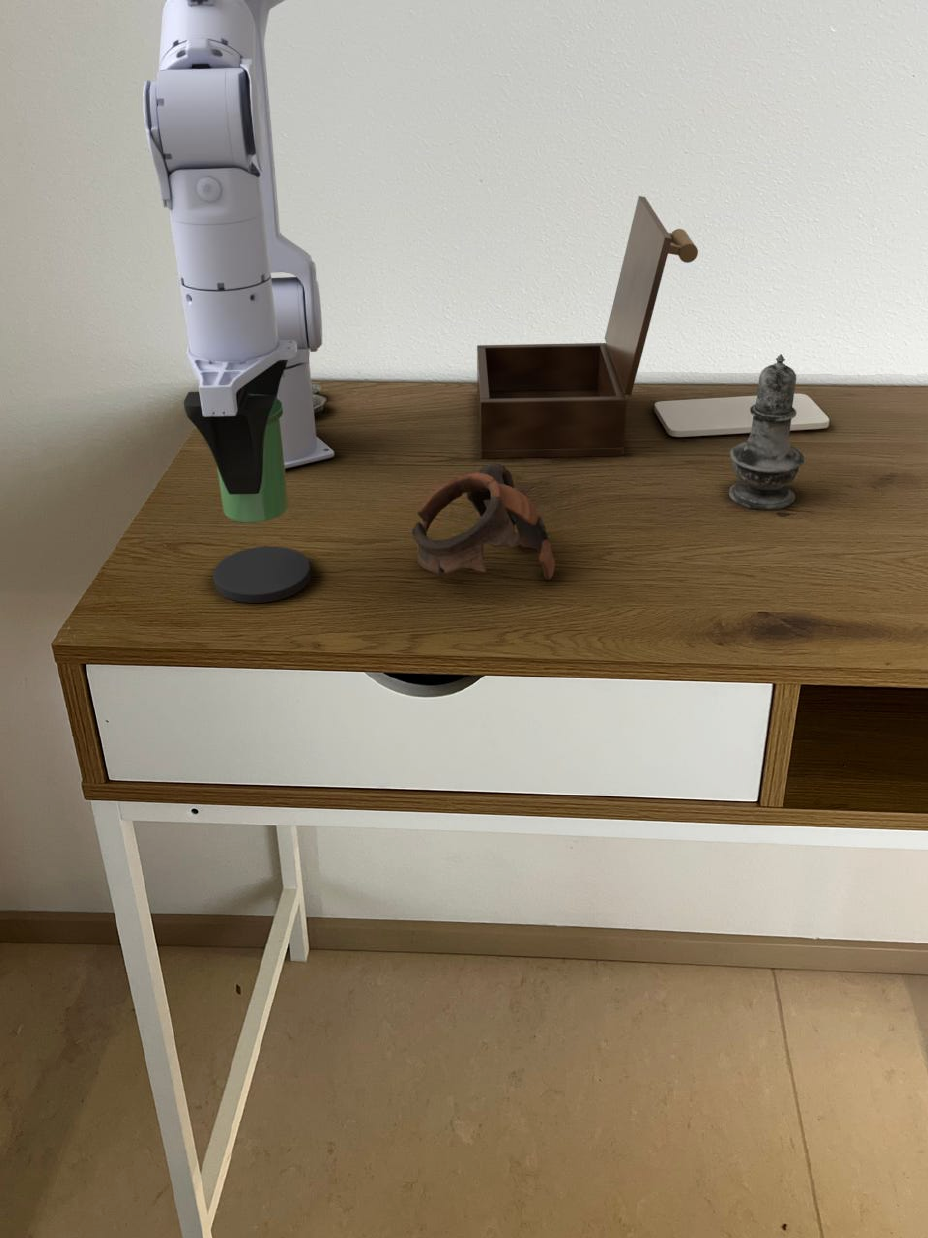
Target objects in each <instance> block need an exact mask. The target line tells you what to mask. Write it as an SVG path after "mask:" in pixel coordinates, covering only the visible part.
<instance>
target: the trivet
mask: <svg viewBox="0 0 928 1238" xmlns="http://www.w3.org/2000/svg"><path fill="white" fill-rule="evenodd" d="M311 577H312V572H311V564H310V561H309V559H308V558H307V557H306V556H305V555H304V554H302V553H301V552H299V551H297V550H295V549H292V548H287V547H282V546H257V547H250V548H247V549H244V550H240V551H237V552H235V553H232V554H230V555H228V556H226V557H225V558H223V559H222V560H221V561H220V562H219V563H218V564H217V565H216V567H215V568H214V570H213V582H214V587H215V589H216V591H217V592H218V593H219V594H220V595H221V596H223V597H224V598H226V599H228V600H231V601H234V602H238V603H244V604H265V603H266V604H267V603H273V602H277V601H281V600H284V599H287V598H290V597H292V596H294V595H296V594H297V593H300V592H301V591H302V590H303V589H304V588H305V587H306V586H307V585H308V584H309V582H310V580H311Z"/></svg>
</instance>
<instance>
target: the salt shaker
mask: <svg viewBox="0 0 928 1238" xmlns="http://www.w3.org/2000/svg"><path fill="white" fill-rule="evenodd" d="M775 360H776V363H774V364H770V365H767V366H766V367H764V368H763V369H762V370H761V371H760V374H759V375H758V376H759V377H758V385H757V391H756V396H757V399H756V404H755V405H753V406H752V407H751V409H750V412H751V414H752V415H753V423H752V430H751V433H749V436H748V439H747V441H743V442H740V443H738V444H736V445H734V446H733V447H732V448H731V449H730V452H729V456H730V460H732V468H733V470H734V474H735V477H736V478H737V479H738V480H739V481H738V482H736V483H734V484H733V485H731V486H730V488H729V490H728V495H729V497H730V499H731V500H732V501H733V502H735V503H737V504H738V505H740V506H743V507H746V508H749V509H754V510H760V511H773V510H774V511H775V510H781V509H785V508H787V507H789V506H791V505H793V503H794V502H795V498H796V496H795V492H794V491H793V490H792V489H791V488H789V487H788V485H789V484H791V483H792V482H793V481H794V480H795V478H796V476H797V475H798V473H799V471H800V468H801V467H802V466H803V465H804V464H805V455H804V454H803V452H802V451H800V450H799V449H798V448H796V447H795V446H792V445H791V442H790V432H791V430H790V425H791V419H792V418H794V417H795V416H796V410H795V409H794V408H793V407H792V405H793V398H794V394H795V390H796V385H797V373H796V372H795V371H794V369H792V368H791V367H790V366H788V365H786V364H785V363H784V362H785V361H786V359H785V358H784V356H783V354H779V355H778V356H777V357H776V358H775Z"/></svg>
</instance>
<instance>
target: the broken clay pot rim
mask: <svg viewBox="0 0 928 1238" xmlns="http://www.w3.org/2000/svg"><path fill="white" fill-rule="evenodd" d="M463 494H466V497H467V500H468V501H469V502H471V504H472V506H473V508H474V509H475V511H477V513H478V515H479V517H480V518H479V519H478V520H477V521H476V522H474V524H472V526H470V527H469V528H468V529H466V530H464V531H462V532H461V533H458V534H456V535H454V536H452V537H449V538H445V539H433V538H430V537H428V536H427V533H428V530H429V528H430V526H431V524H432V523H433V521H434V520H435V518H436V517H438V514H440V513H441V511H442V510H444V509H445V508H446V507H447V506H448V505H450V504H451V503H452V502H454V501H456V499H459V498H461V497H462V496H463ZM417 516H419V517H420V518H421V520H422V522H420V521H418V522H416V523H415V525H414V526H413V527H412V529H411V535H412V538H413V540H414V541H415V543H416V544H417V563H418V564H419V565H420V567H422V568H423V569H425V570H426V571H428V572H431V573H433V574H436V575H442V574H444V573H446V574H453V573H458V572H460V571H464V570H473V571H476V572H478V573H483V574H485V573H487V569H486V567H485V549H484V548H485V544H487V545H489V546H491V547H494V548H502V547H503V548H504V547H508V548H516V547H518V546H521V547H522V548H523V549H534V550H538V551H540V553H539V556H538V563H539V565H540V566H541V567H542V568H543V575H544V578H545V579H546V580H547V581H550V580H551V579H552V578H553V575H554V572H555V557H554V555H553V551H552V545H551V544H552V543H551V542H552V541H551V539H550V537H549V533H548V532H547V527H546V525H545V524H544V521H543V519H542V516H541V515H540V513H539V511H538V509H537V508H536V507H535V505H533V504H532V502H531V500H529V499H528V498H527V496H525V494H523V493H522V492H521V491H519V489H516V488H515V483H514V479H513V475H512V473H511V472H510V469H508V468H507V467H506V466H505V465H504V464H501V463H498V462H492V463H490V464H487V465H483V466H482V467H481V468H480V470H479V471H478V472H472V473H466V474H462V475H459V476H457V477H455V478H451V479H450V480H448V481H447V482H445V483H443V484H442V485H440V486H439V487H438V488H436V489H435V490H434V491H433V492H432V493H431V494H429V496H427V498H426V499H425V500H424V501H423V502H422V504H421V505H420V506H419V508H418V511H417ZM515 527H516V528H515Z"/></svg>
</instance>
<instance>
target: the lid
mask: <svg viewBox="0 0 928 1238" xmlns="http://www.w3.org/2000/svg"><path fill="white" fill-rule="evenodd" d="M669 255H675V256H678V258H679V259H680V261H682V262H683V263H686V264H689V263H692V262H694V261H695V260H696V259H697V258H698V255H699V250H698V246H696V244H695V243H694V241H693V240H692V239H691V237H690V236H689V235H688V232H687V231H686V230H684V229H682V228H677V229H674V230H673V231H672V232H668V230H667V229H666V227H665V225H664V224H663V222H662V221H661V219H660V218H659V216H658V215H657V213H656V212H655V211H654V208H653V207H652V205H651V204H650V202H649V201H648V199H647V198H646V196H642V195H639V196H638V198H637V202H636V206H635V209H634V214H633V219H632V222H631V227H630V231H629V234H628V239H627V243H626V248H625V252H624V256H623V261H622V264H621V268H620V273H619V277H618V280H617V286H616V289H615V293H614V297H613V301H612V305H611V310H610V313H609V314H610V315H609V319H608V322H607V326H606V330H605V335H604V341H605V343H606V344H607V347H608V350H609V352H610V355H611V358H612V361H613V364H614V367H615V369H616V372H617V375H618V378H619V381H620V384H621V386H622V389H623V392H624V395H626V396H630V397H631V396H632V394H633V389H634V387H635V383H636V378H637V374H638V371H639V367H640V363H641V359H642V355H643V353H644V352H643V351H644V348H645V344H646V340H647V336H648V332H649V328H650V325H651V321H652V316H653V314H654V309H655V305H656V302H657V298H658V294H659V291H660V286H661V282H662V279H663V275H664V271H665V267H666V263H667V259H668V256H669Z"/></svg>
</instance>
